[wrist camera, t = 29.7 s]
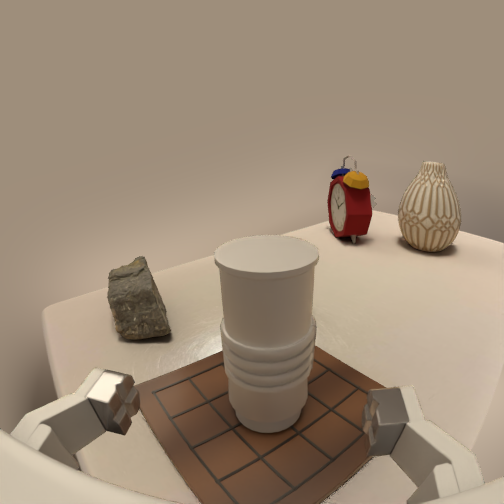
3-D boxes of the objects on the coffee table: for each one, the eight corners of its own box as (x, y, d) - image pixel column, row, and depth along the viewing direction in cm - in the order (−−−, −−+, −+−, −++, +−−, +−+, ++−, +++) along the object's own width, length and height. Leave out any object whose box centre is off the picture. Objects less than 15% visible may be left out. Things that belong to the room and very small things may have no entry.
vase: (432, 263, 56) (443, 166, 49) (382, 241, 70) (387, 157, 63) (466, 251, 62) (477, 169, 55) (420, 232, 76) (426, 159, 69)
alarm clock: (325, 228, 81) (327, 152, 74) (355, 227, 81) (358, 153, 74) (345, 247, 67) (348, 156, 60) (379, 245, 67) (384, 158, 60)
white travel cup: (312, 433, 22) (333, 270, 17) (228, 438, 22) (206, 275, 17) (302, 380, 29) (310, 233, 23) (231, 383, 29) (217, 236, 23)
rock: (85, 279, 44) (135, 248, 49) (104, 312, 47) (151, 281, 52) (112, 324, 32) (182, 278, 36) (139, 364, 35) (201, 320, 39)
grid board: (413, 412, 24) (417, 403, 23) (244, 553, 13) (243, 549, 12) (280, 331, 39) (280, 323, 39) (132, 395, 28) (129, 386, 28)
